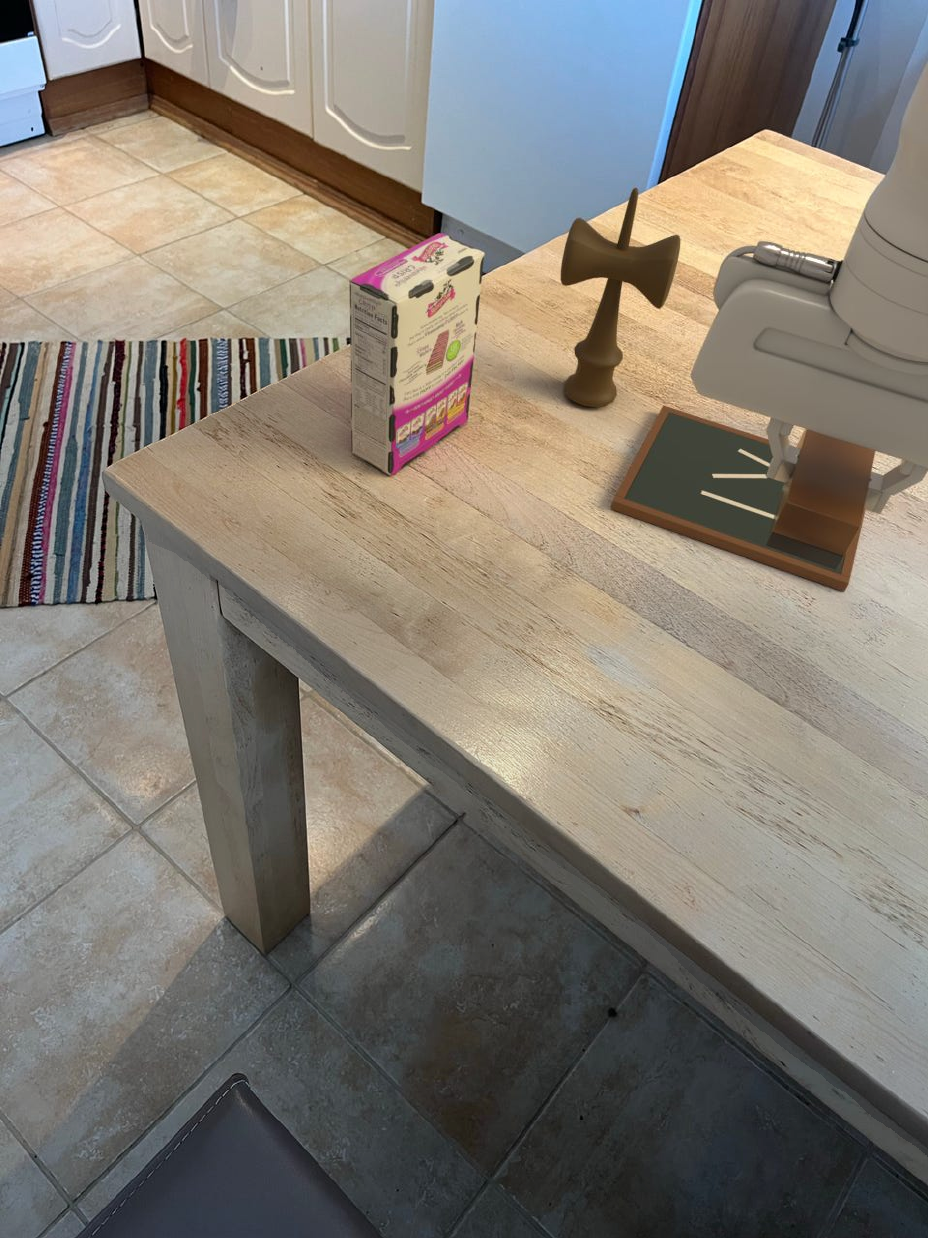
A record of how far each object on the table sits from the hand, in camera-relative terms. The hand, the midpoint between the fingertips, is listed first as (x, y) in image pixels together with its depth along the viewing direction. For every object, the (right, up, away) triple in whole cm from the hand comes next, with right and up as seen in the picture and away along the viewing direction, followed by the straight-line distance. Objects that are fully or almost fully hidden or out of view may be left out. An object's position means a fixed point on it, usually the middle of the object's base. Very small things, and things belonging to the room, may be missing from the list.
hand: (823, 490), depth 60 cm
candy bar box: (-28, +8, +25) cm, 38 cm away
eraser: (0, -1, +1) cm, 2 cm away
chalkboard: (+2, +3, +24) cm, 24 cm away
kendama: (-11, +13, +32) cm, 36 cm away
